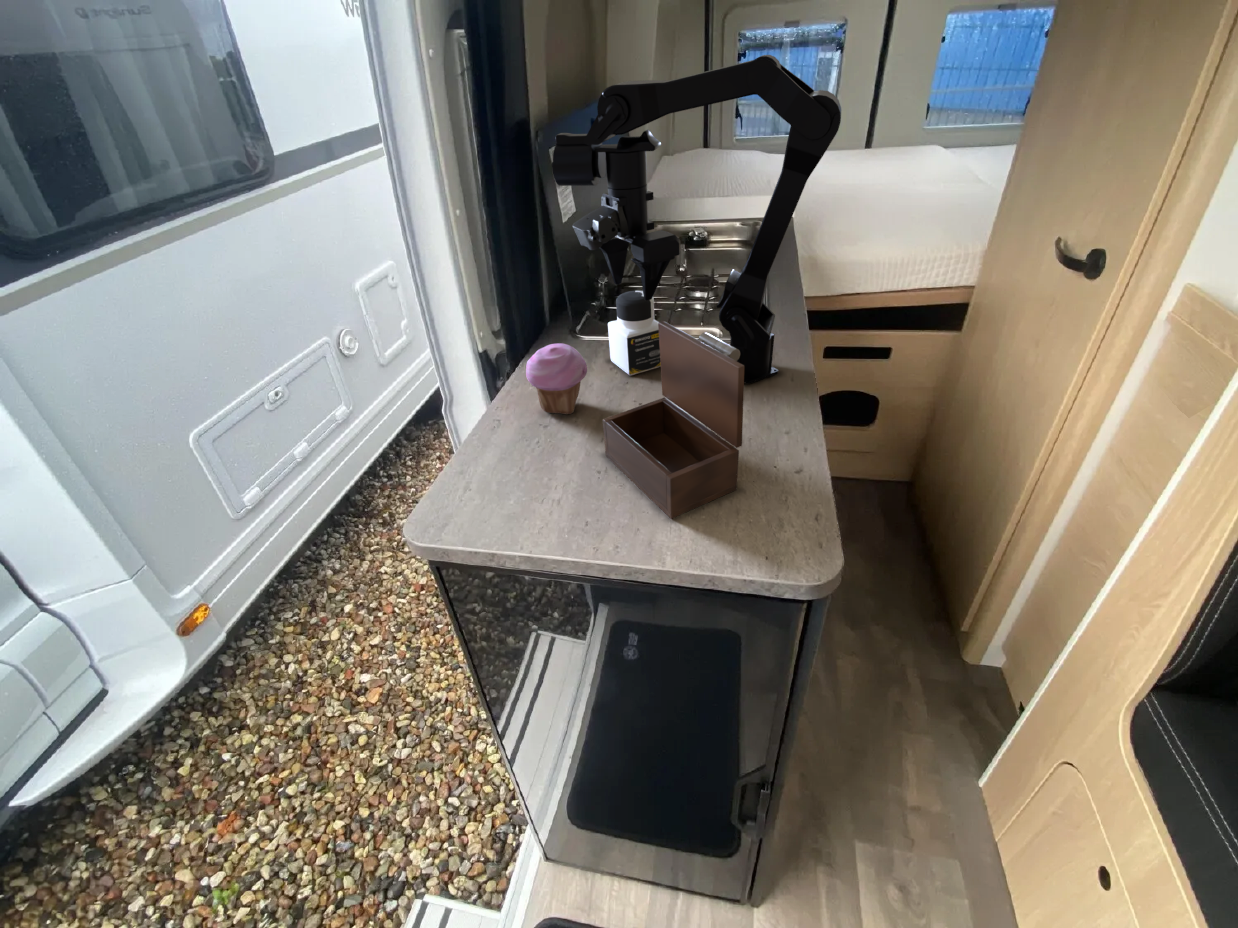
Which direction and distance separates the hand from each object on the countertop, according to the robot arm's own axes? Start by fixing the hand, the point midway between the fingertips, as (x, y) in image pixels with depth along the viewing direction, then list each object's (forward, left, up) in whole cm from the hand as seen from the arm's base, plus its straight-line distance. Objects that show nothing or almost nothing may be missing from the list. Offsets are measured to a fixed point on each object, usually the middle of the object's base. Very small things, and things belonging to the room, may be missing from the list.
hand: (632, 291), depth 96 cm
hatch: (+9, +29, -1) cm, 30 cm away
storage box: (+13, +29, -12) cm, 34 cm away
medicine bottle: (0, 0, -13) cm, 13 cm away
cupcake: (+17, +6, -13) cm, 22 cm away
